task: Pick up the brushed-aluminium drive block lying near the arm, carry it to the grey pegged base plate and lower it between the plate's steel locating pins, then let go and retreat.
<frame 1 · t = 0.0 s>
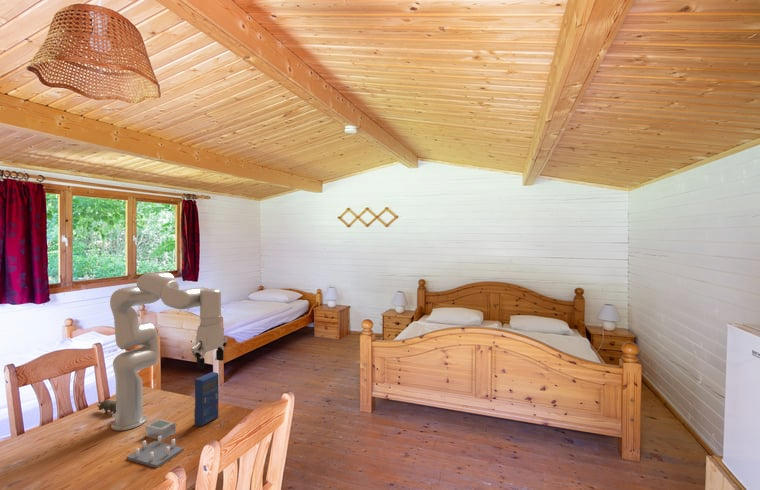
hand: (210, 364, 139), 31 cm above the table, fingers open, 9 cm apart
rhino figurine: (109, 413, 164), on the table
drive: (160, 435, 145), on the table
electronic device: (206, 421, 156), on the table
grey pegged base plate: (155, 454, 131), on the table
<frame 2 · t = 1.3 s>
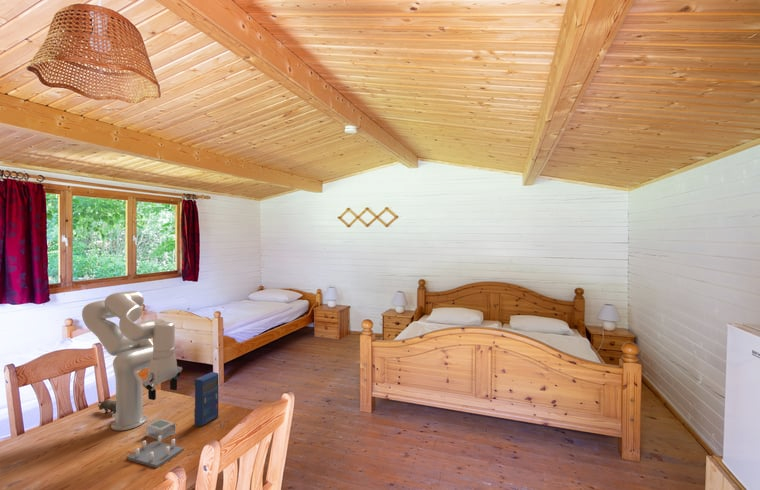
hand: (163, 394, 145), 17 cm above the table, fingers open, 9 cm apart
nothing on the table moved.
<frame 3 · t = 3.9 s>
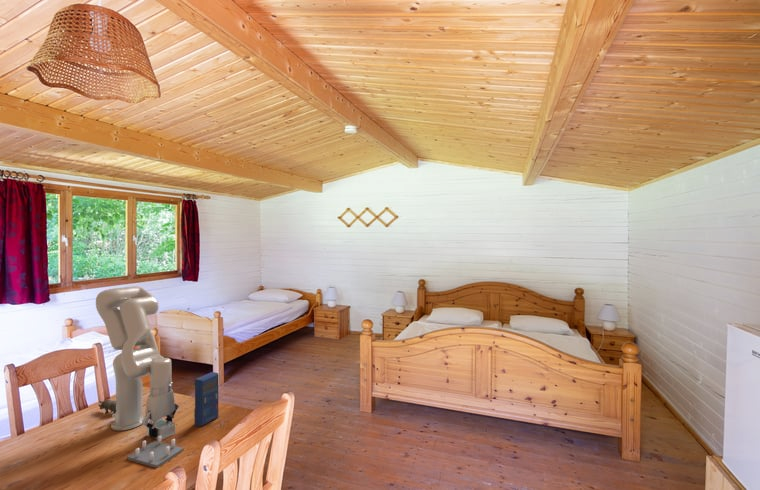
hand: (161, 432, 145), 1 cm above the table, fingers closed on drive, 6 cm apart
drive: (160, 434, 145), on the table, touching gripper
everything else where it was.
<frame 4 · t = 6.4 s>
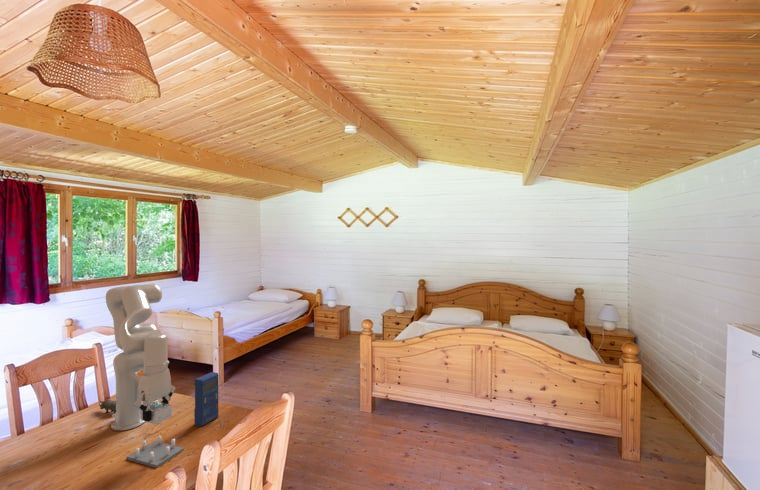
hand: (156, 415, 131), 15 cm above the table, fingers closed on drive, 6 cm apart
drive: (156, 418, 131), point 14 cm above the table, touching gripper
everything else where it was.
when the fingers open (3 cm above the table, at t = 8.8 s): drive drops 1 cm, resting on grey pegged base plate.
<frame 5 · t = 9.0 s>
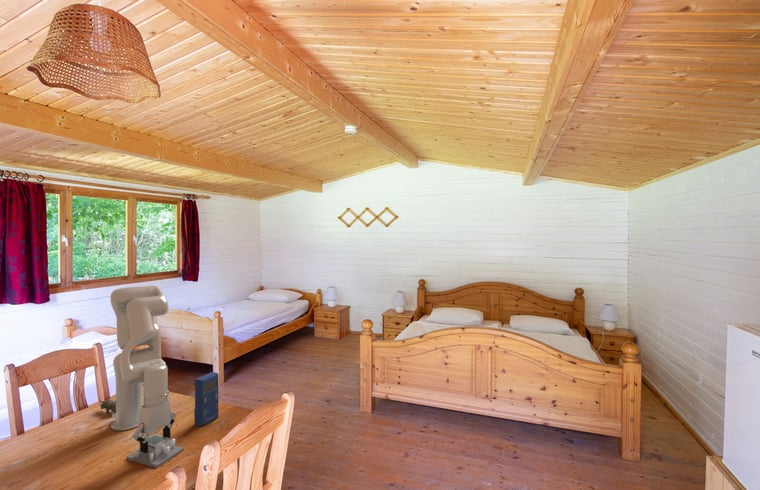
hand: (155, 445, 131), 4 cm above the table, fingers open, 8 cm apart
drive: (155, 452, 131), point 1 cm above the table, touching grey pegged base plate
everything else where it was.
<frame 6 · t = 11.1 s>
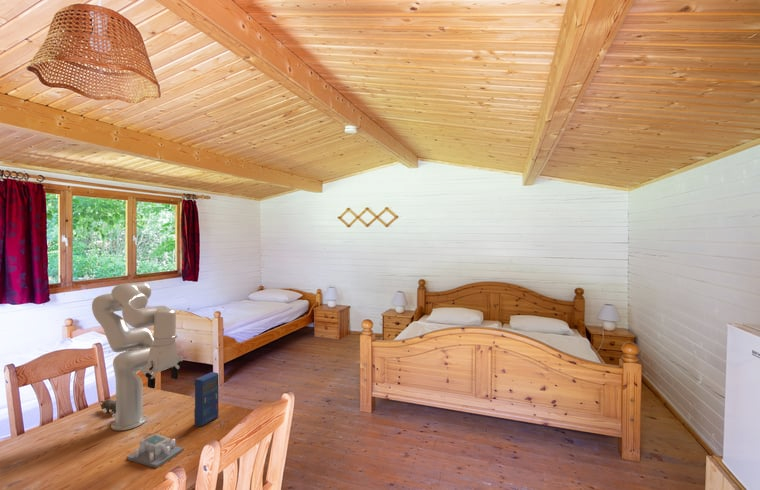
hand: (163, 383, 141), 23 cm above the table, fingers open, 9 cm apart
nothing on the table moved.
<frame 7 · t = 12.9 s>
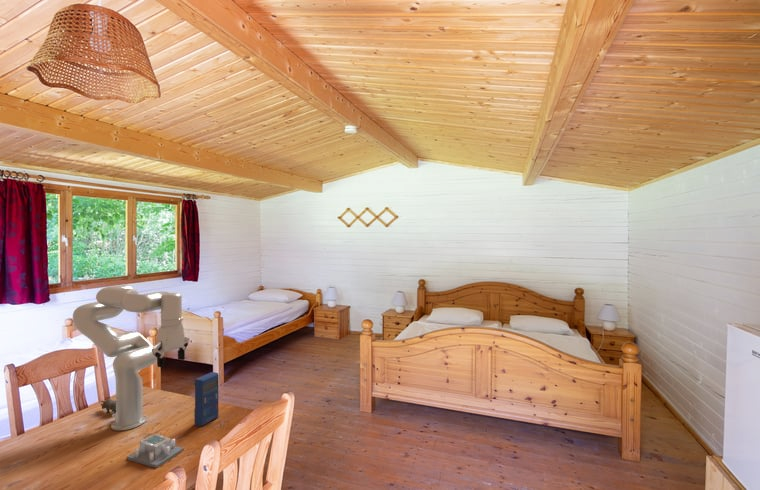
hand: (171, 363, 148), 28 cm above the table, fingers open, 9 cm apart
nothing on the table moved.
at the end: drive 0.1 cm off-centre on the grey pegged base plate, point 1.0 cm above the grey pegged base plate's base; drive tilted 0°; the gripper is holding nothing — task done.
